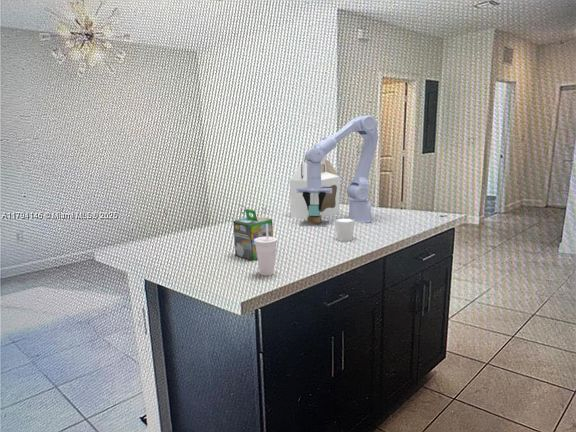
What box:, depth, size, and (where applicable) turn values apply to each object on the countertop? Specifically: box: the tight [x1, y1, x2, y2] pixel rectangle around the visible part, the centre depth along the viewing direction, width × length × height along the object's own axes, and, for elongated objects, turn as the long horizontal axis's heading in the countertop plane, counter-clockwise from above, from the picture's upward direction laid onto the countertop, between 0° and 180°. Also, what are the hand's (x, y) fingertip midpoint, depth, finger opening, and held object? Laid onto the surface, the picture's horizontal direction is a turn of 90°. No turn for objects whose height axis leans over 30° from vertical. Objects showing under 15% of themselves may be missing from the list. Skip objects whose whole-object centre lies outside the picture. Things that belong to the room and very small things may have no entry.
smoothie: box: [254, 224, 278, 277], centre depth 110 cm, size 6×6×14 cm
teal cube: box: [309, 204, 320, 216], centre depth 169 cm, size 4×4×4 cm
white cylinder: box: [334, 218, 355, 242], centre depth 145 cm, size 7×7×7 cm
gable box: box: [289, 155, 340, 220], centre depth 186 cm, size 22×13×28 cm, turn 144°
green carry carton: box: [232, 208, 274, 262], centre depth 128 cm, size 9×9×15 cm
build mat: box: [298, 219, 330, 228], centre depth 170 cm, size 11×11×1 cm
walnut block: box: [306, 215, 322, 225], centre depth 170 cm, size 5×5×3 cm
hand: (314, 210), depth 169 cm, fingers closed on teal cube, 4 cm apart
